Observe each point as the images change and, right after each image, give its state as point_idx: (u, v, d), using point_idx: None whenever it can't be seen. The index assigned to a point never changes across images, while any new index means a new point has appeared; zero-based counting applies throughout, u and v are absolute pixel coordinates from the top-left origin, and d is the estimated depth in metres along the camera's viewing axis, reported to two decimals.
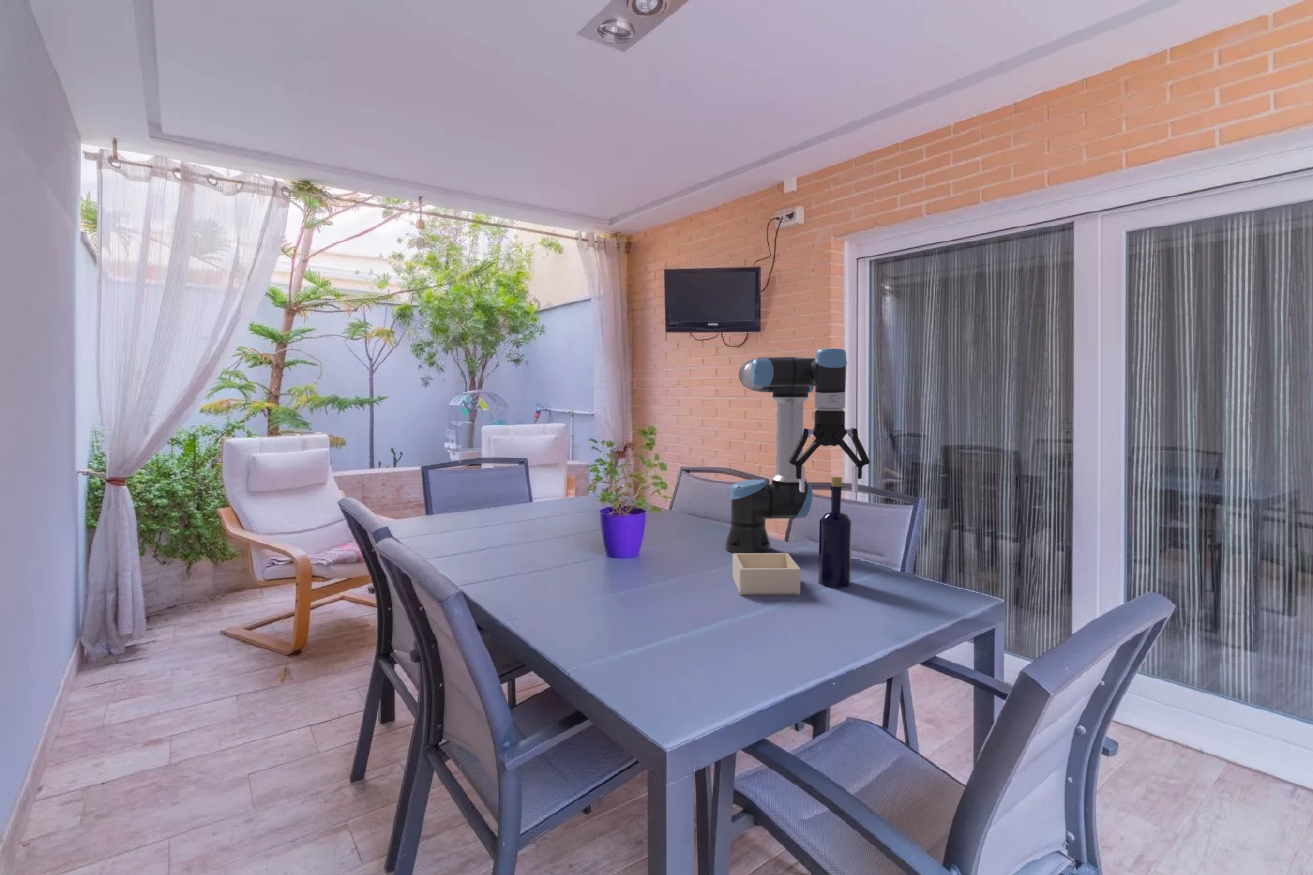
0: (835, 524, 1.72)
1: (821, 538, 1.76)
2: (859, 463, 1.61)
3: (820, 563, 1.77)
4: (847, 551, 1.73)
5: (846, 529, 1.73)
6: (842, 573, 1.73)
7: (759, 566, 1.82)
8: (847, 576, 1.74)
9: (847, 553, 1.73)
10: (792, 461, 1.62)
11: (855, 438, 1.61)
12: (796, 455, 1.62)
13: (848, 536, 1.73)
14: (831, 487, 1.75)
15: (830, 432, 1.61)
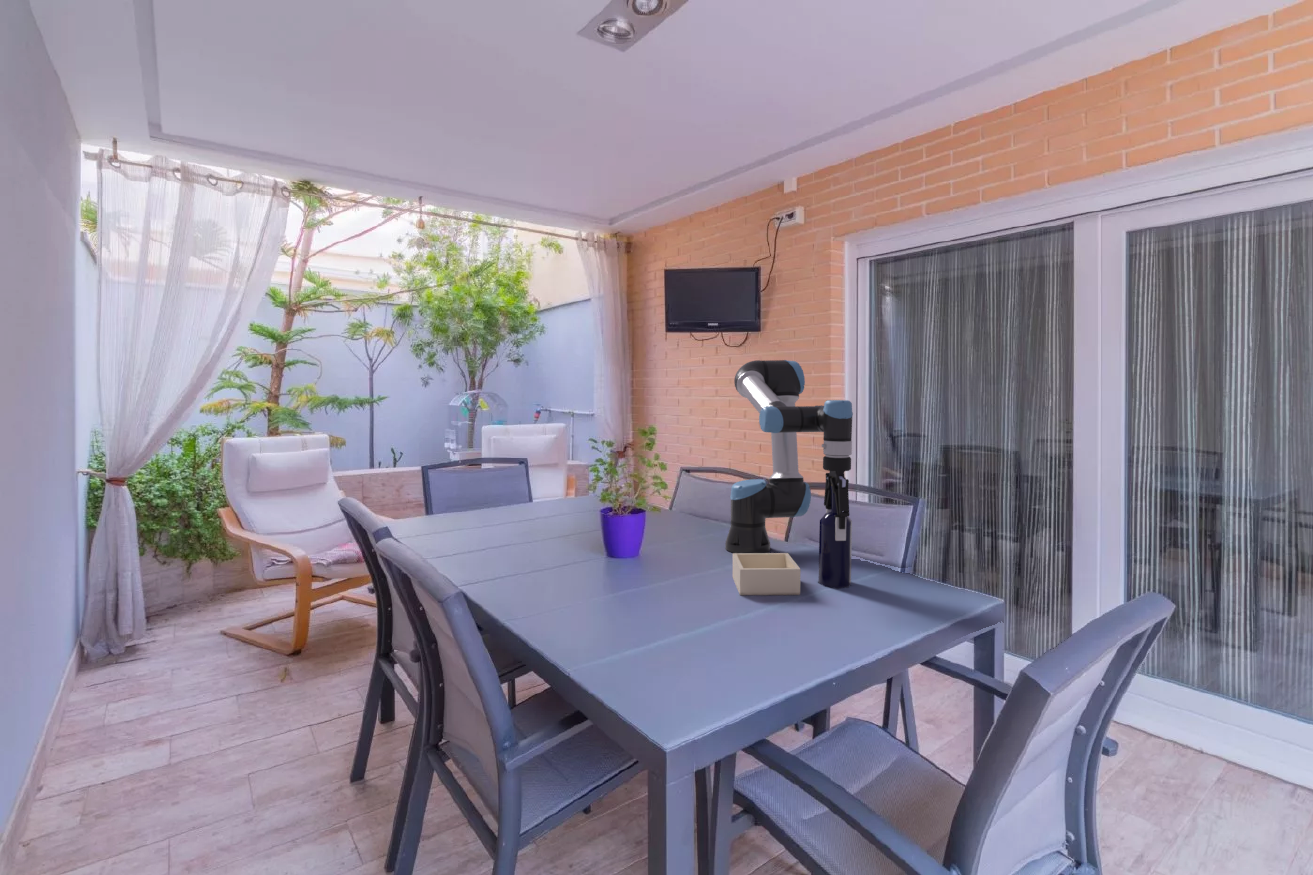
0: None
1: (821, 538, 1.76)
2: (837, 513, 1.71)
3: (820, 563, 1.77)
4: (847, 551, 1.73)
5: (846, 529, 1.73)
6: (842, 573, 1.73)
7: (759, 566, 1.82)
8: (847, 576, 1.74)
9: (847, 553, 1.73)
10: (824, 502, 1.83)
11: (838, 488, 1.70)
12: (825, 497, 1.83)
13: (848, 536, 1.73)
14: (831, 487, 1.75)
15: (832, 476, 1.75)
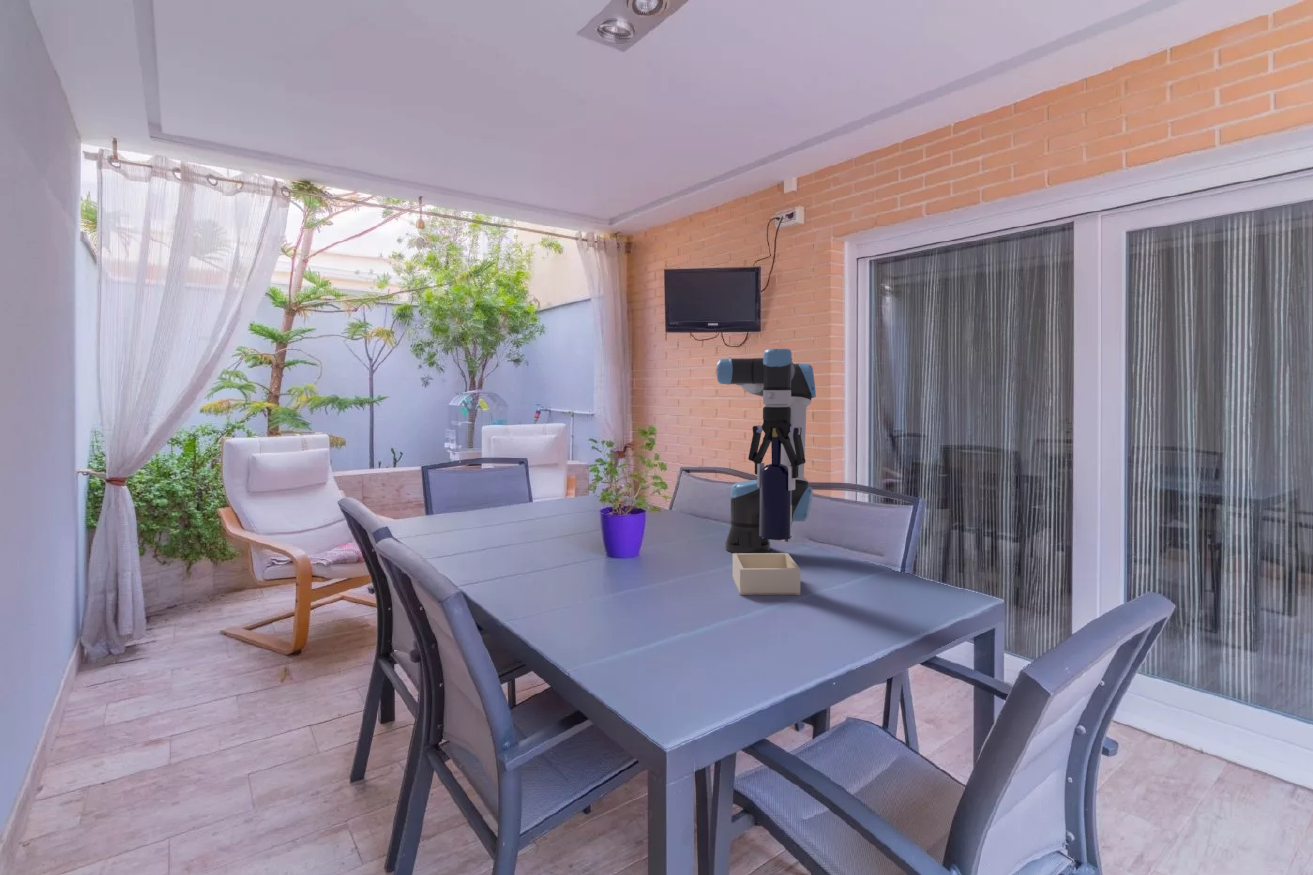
0: (787, 475, 1.70)
1: (770, 492, 1.70)
2: (792, 463, 1.69)
3: (769, 518, 1.71)
4: (791, 500, 1.74)
5: None
6: (790, 523, 1.73)
7: (759, 566, 1.82)
8: (791, 525, 1.74)
9: (791, 502, 1.74)
10: (749, 457, 1.77)
11: (794, 437, 1.68)
12: (751, 451, 1.76)
13: None
14: (775, 438, 1.71)
15: (774, 427, 1.71)
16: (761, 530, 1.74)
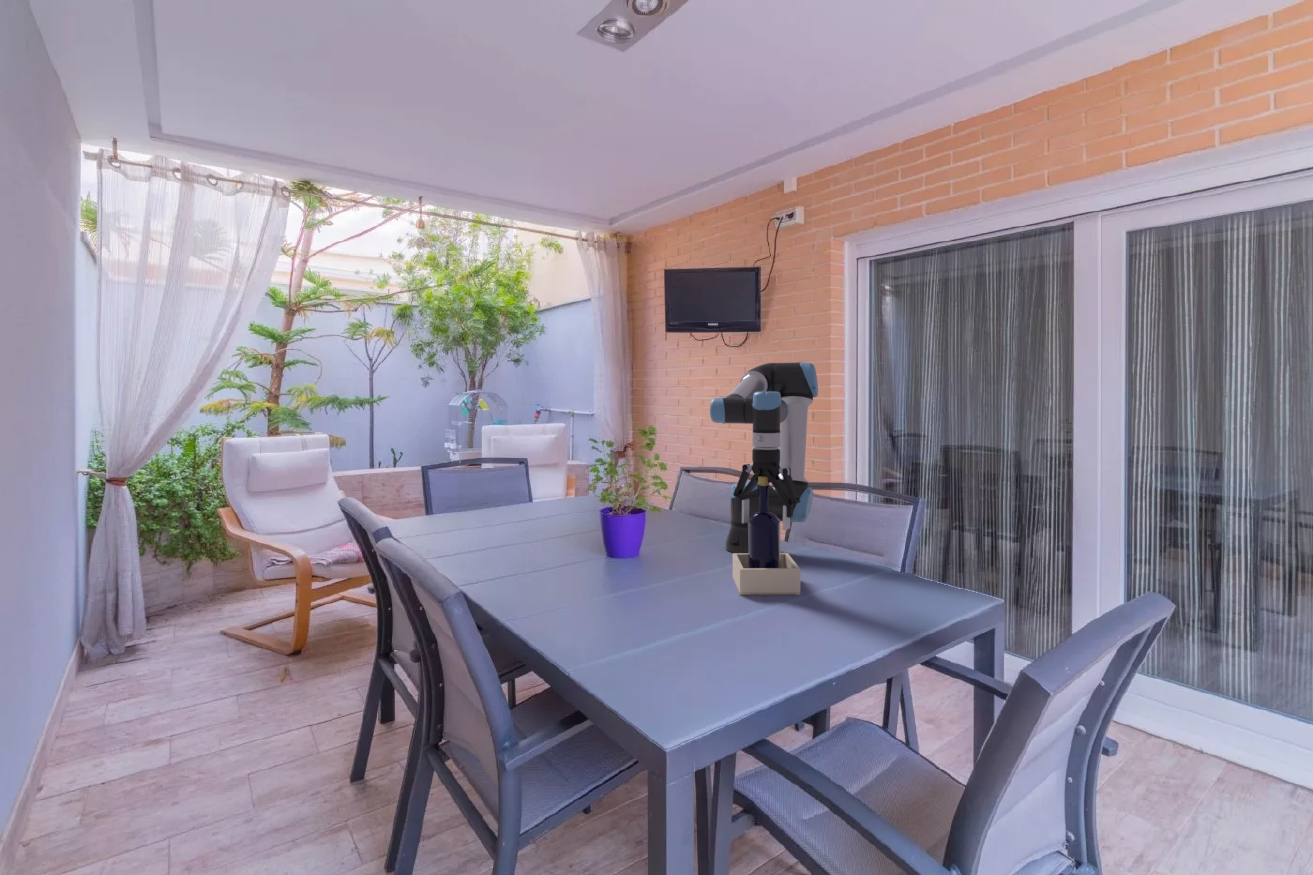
0: (774, 524, 1.70)
1: (758, 541, 1.71)
2: (786, 502, 1.68)
3: (757, 566, 1.72)
4: (780, 547, 1.74)
5: (779, 526, 1.73)
6: None
7: None
8: None
9: (780, 549, 1.74)
10: (734, 493, 1.78)
11: (784, 477, 1.68)
12: (737, 488, 1.78)
13: (779, 532, 1.74)
14: (761, 487, 1.71)
15: (764, 469, 1.72)
16: None
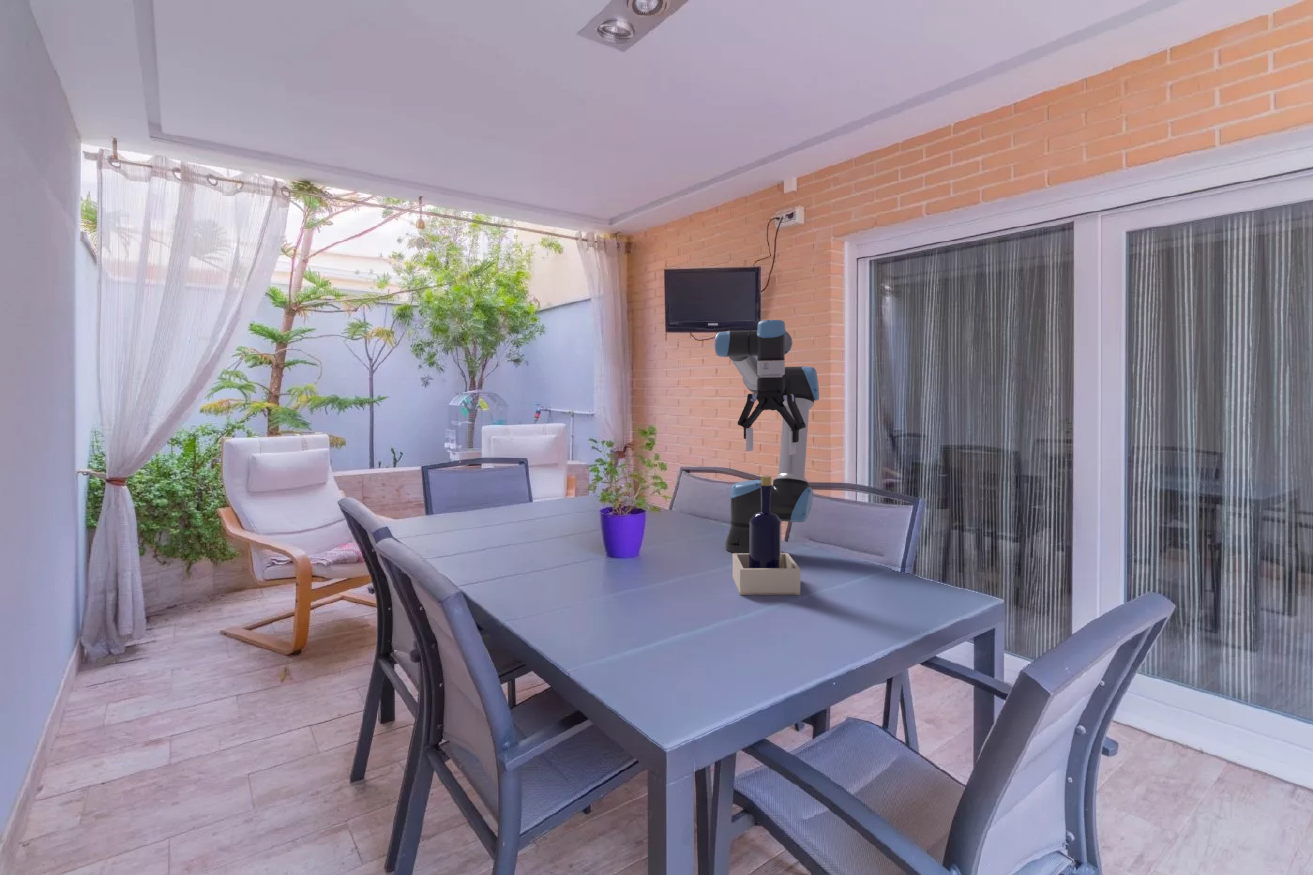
0: (776, 524, 1.71)
1: (759, 540, 1.71)
2: (792, 427, 1.71)
3: (758, 566, 1.72)
4: None
5: (780, 527, 1.73)
6: None
7: None
8: None
9: None
10: (738, 422, 1.82)
11: (789, 403, 1.71)
12: (742, 417, 1.81)
13: (781, 533, 1.74)
14: (764, 487, 1.72)
15: (768, 397, 1.75)
16: None
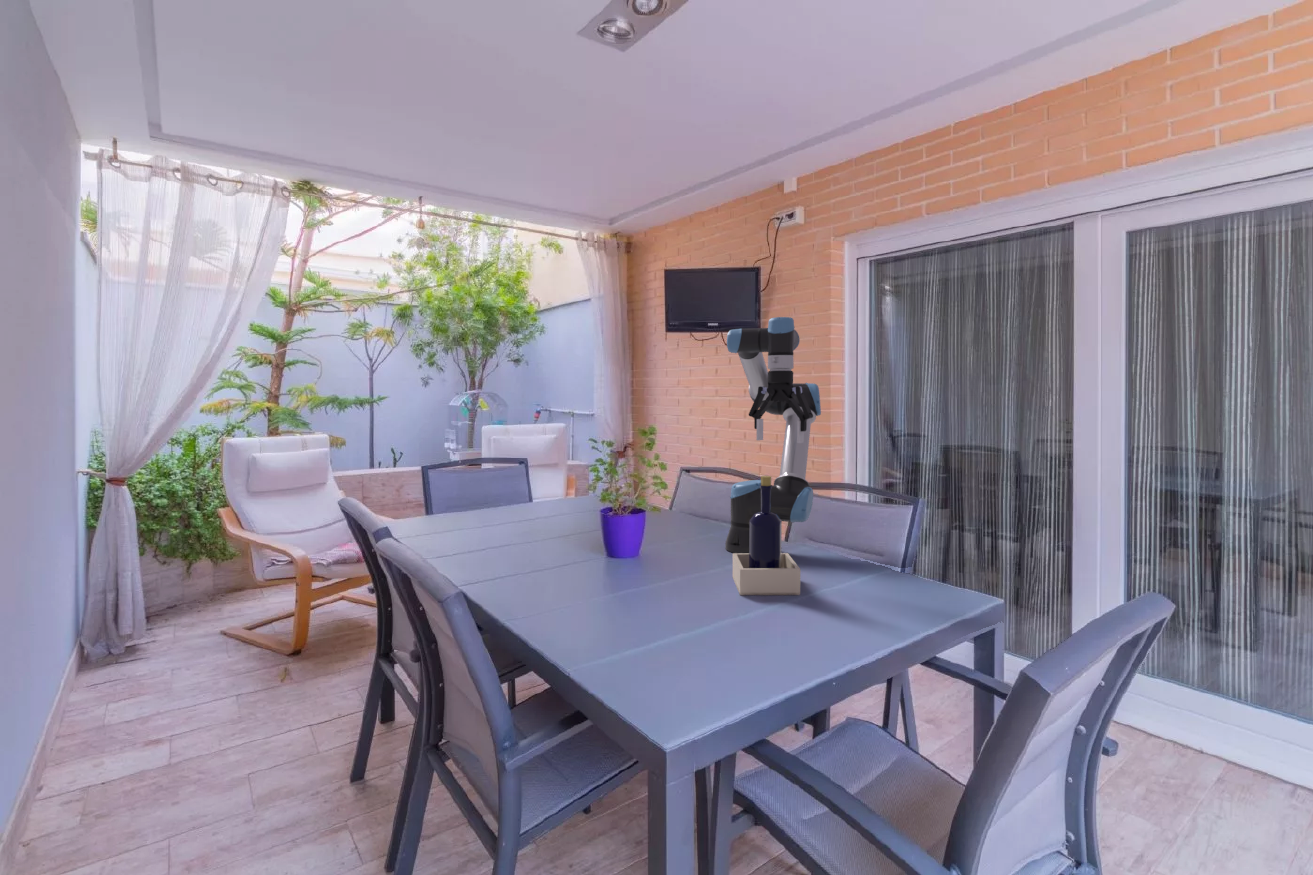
0: (776, 524, 1.71)
1: (759, 540, 1.71)
2: (800, 417, 1.83)
3: (758, 566, 1.72)
4: None
5: (780, 527, 1.73)
6: None
7: None
8: None
9: (780, 550, 1.74)
10: (750, 413, 1.94)
11: (797, 395, 1.83)
12: (753, 409, 1.93)
13: (781, 533, 1.74)
14: (764, 487, 1.72)
15: (778, 389, 1.87)
16: None
